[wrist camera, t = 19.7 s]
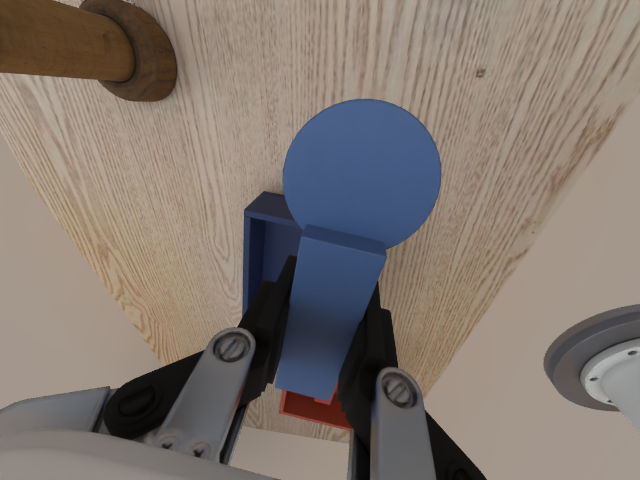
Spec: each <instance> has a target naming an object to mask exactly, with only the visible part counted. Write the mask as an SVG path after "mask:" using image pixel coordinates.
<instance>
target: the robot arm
mask: <svg viewBox="0 0 640 480" xmlns="http://www.w3.org/2000/svg"><path fill="white" fill-rule="evenodd" d="M296 262H297V256H293V255H289V256H288V258H287V260H286V262H285V264H284V267H283V269H282V271H281V273H280V275H279V277H278V279H277V281H276V282H274V281H270V280H266V279H264V280H263V281H262V283H261V285H260V287H259V288H258V290H257V292H256V294H255V296H254V298H253V299H252V301H251V303H250V305H249V307H248V308H247V310H246V312H245V314H244V316H243V318H242V319H241V321H240V323H239V325H238V327H232V328H227V329H224V330H222V331H220V332H218V333H217V334H216V335H214V337H213V338H212V339H211V340H210V342H209V344H208V345H207V347H206V349H205V350H203V351H201V352H198V353H196V354H193V355H191V356H189V357H186V358H184V359H181V360H179V361H176V362H174V363H172V364H169V365H167V366H164V367H162V368H159V369H157V370H154V371H152V372H150V373H147V374H145V375H142V376H140V377H138V378H135V379H133V380H131V381H129V382H127V383H125V384H124V385H123V386H122V387H120V388H117V389H110V386H108V387H101V388H95V389H88V390H82V391H76V392H70V393H63V394H56V395H50V396H43V397H37V398H30V399H26V400H22V401H18V402H15V403H13V404H11V405H9V406H7V407H5V408H3V409H1V410H0V480H279V479H276V478H272V477H268V476H264V475H260V474H257V473H254V472H250V471H246V470H243V469H239V468H235V467H231V466H230V463H231V460H232V456H233V453H234V450H235V447H236V444H237V441H238V438H239V435H240V432H241V429H242V426H243V423H244V419H245V416H246V413H247V410H248V407H249V404H250V402H251V401H252V400H254V399H256V398H257V397H259V396H260V395H261V392H262V391H263V392H264V391H265V388H266V385H267V383H270V384H272V383H273V381H274V378H275V374H276V371H277V368H278V365H279V362H280V358H281V352H282V347H283V341H284V336H285V330H286V325H287V319H288V314H289V308H290V304H289V302H290V296H291V291H292V285H293V279H294V274H295V268H296ZM580 381H581V384H582V385H583V387H584V388H585V390H586V391H587V392H588V393H589V394H590V396H592V397H593V398H595V399H596V400H598V401H601V402H603V403H606V404H610V405H614V406H616V407H617V408H618V409H619V410H620V411H621V412H622V414H623V415H624V416H625V417H626V418H627V420H628V421H629V422H630V423H631V424H632V426H633V427H634V428H635V429H636V430H637V431H638V432H639V434H640V338H638V339H633V340H630V341H626V342H623V343H619V344H617V345H614V346H612V347H610V348H607V349H605V350H604V351H602V352H600V353H598V354H597V355H595V356H594V357H593V358H591V359H590V360H589V361H588V362H587V363H586V364H585V366H584V368H583V369H582V371H581V375H580ZM337 401H339V402H341V412H343V413H346V420H347V421H348V423H349V424H350V425H351V431H350V445H349V459H348V473H347V480H487V479H486V478H485V476H484V475H483V474H482V473H481V471H480V470H479V469H478V468H477V467H476V466H475V464H474V463H473V462H472V461H471V460H470V459H469V458H468V457H467V456H466V455H465V453H464V452H463V451H462V450H461V449H460V448H459V447H458V446H457V445H456V444H455V442H454V441H453V440H452V439H451V438H450V437H449V436H448V435H447V434H446V433H445V431H444V430H443V429H442V428H441V427H440V426H439V425H438V424H437V423H436V421H435V420H434V419H433V418H432V417H431V416H430V415H429V414H428V413H427V412H426V410H425V409H424V403H423V397H422V393H421V390H420V387H419V386H418V384H417V382H416V381H415V380H414V379H413V378H412V376H411V375H409V374H408V373H407V372H405V371H404V370H401V369H399V368H398V362H397V354H396V347H395V340H394V333H393V326H392V319H391V313H390V311H389V310H386V309H382V308H381V306H380V295H379V285H378V281H377V284H376V286H375V289H374V291H373V294H372V296H371V299H370V301H369V304H368V306H367V309H366V311H365V314H364V316H363V319H362V321H361V322H359V325H358V327H357V330H356V332H355V335H354V337H353V340H352V342H351V345H350V347H349V350H348V352H347V355H346V357H345V360H344V362H343V365H342V368H341V370H340V373H339V377H338V389H337Z"/></svg>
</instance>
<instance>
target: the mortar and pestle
mask: <svg viewBox="0 0 640 480" xmlns="http://www.w3.org/2000/svg"><path fill="white" fill-rule="evenodd" d="M0 73H15V74H29V75H42V76H55V77H69V78H82V79H95V80H98V81H99V82H100V83H101V84H102V85H103V86H104V87H105V88H106V89H107V90H109V91H110V92H111V93H113V94H114V95H116V96H118V97H120V98H122V99H125V100H129V101H147V102H152V101H158V100H161V99H163V98H165V97H166V96H168V95H169V93H170V92H171V91H172V89H173V86H174V84H175V79H176V61H175V55H174V52H173V49H172V46H171V44H170V41H169V39H168V37H167V36H166V34H165V32H164V31H163V30H162V28H161V27H160V26H159V24H158V23H157V22H156V21H155V19H154V18H152V17H151V16H150V15H149V14H148V13H147V12H145V11H144V10H142V9H141V8H139V7H137V6H135V5H132V4H130V3H127V2H124V1H122V0H84V1H83V2H82V4H81V5H80V7H79V8H76V7H73V6H70V5H66V4H63V3H60V2H56V1H53V0H0Z"/></svg>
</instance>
